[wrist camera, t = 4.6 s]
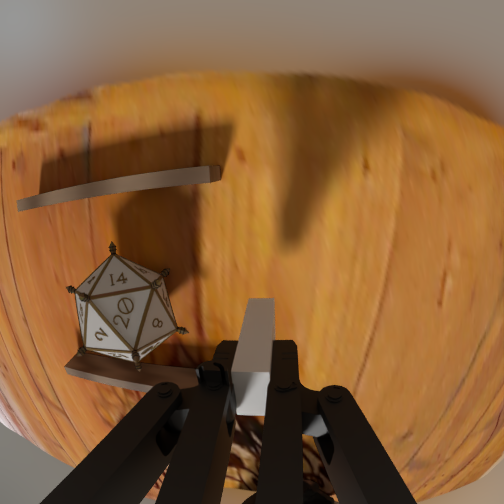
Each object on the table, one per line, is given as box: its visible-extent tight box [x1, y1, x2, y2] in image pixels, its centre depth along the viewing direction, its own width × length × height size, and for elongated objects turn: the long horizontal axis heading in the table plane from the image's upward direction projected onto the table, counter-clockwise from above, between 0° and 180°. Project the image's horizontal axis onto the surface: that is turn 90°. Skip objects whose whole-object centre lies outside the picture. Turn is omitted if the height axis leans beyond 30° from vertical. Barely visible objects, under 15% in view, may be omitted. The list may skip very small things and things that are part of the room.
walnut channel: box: [17, 166, 221, 392], centre depth 21 cm, size 18×18×3 cm
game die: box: [66, 241, 189, 372], centre depth 18 cm, size 9×8×10 cm
